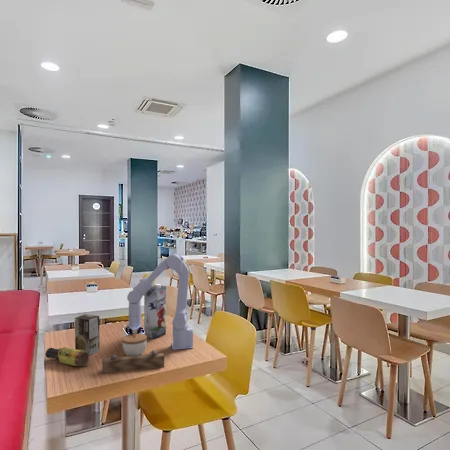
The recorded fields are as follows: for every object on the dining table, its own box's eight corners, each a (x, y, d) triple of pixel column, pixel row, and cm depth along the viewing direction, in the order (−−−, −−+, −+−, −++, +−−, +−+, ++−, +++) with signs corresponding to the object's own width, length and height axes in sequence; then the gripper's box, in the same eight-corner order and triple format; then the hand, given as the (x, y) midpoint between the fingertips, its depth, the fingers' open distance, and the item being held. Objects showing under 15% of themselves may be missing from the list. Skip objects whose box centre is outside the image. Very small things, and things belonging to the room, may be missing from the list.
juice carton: (141, 336, 174) (141, 284, 174) (156, 331, 183) (155, 281, 183) (154, 340, 169) (154, 286, 169) (168, 334, 178) (168, 283, 178)
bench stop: (163, 363, 141) (163, 349, 141) (164, 366, 138) (164, 352, 138) (103, 369, 135) (102, 354, 135) (102, 373, 132) (102, 357, 132)
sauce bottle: (77, 356, 134) (40, 350, 141) (79, 370, 135) (42, 364, 142) (89, 347, 140) (53, 342, 147) (91, 361, 141) (55, 355, 148)
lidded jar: (117, 358, 146) (117, 336, 146) (129, 349, 157) (129, 329, 157) (139, 360, 144) (139, 338, 144) (151, 351, 154) (151, 331, 154)
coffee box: (100, 350, 155) (100, 315, 155) (89, 355, 149) (89, 319, 149) (85, 347, 159) (85, 313, 159) (74, 352, 153) (74, 317, 153)
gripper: (126, 311, 166) (126, 339, 166) (125, 320, 152) (125, 350, 152) (141, 310, 168) (141, 338, 168) (141, 318, 154) (141, 348, 154)
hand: (135, 343), depth 160 cm, fingers closed
